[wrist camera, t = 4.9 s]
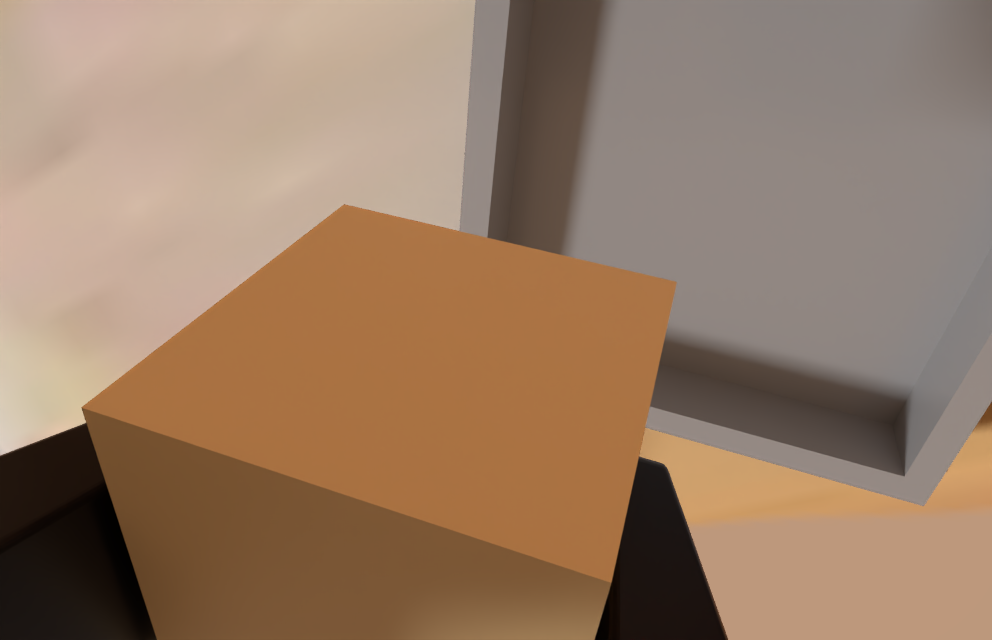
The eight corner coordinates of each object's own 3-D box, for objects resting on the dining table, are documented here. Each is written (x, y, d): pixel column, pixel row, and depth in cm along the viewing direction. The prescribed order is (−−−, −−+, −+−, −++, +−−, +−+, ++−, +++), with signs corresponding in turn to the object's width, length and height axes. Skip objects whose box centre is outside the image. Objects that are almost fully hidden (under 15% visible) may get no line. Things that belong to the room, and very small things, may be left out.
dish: (480, 324, 21) (449, 372, 19) (526, -157, 14) (486, -163, 12) (906, 437, 18) (923, 506, 16) (1207, -83, 12) (1301, -75, 10)
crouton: (353, 445, 11) (173, 690, 7) (344, 204, 8) (79, 407, 5) (609, 524, 10) (534, 843, 7) (677, 282, 8) (612, 583, 4)
